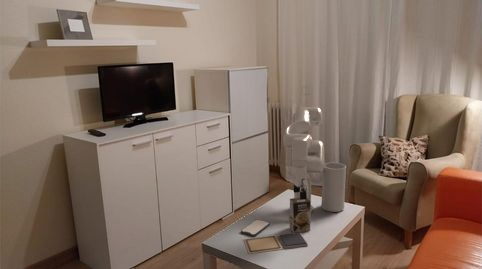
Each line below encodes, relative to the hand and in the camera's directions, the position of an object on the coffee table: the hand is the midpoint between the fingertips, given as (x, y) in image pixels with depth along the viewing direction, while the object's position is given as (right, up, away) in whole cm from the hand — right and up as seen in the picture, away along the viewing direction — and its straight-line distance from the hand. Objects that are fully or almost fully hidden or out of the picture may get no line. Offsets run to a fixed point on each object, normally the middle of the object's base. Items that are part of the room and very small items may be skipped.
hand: (299, 195), depth 185 cm
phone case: (-22, -19, +7) cm, 30 cm away
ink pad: (-5, -21, -7) cm, 23 cm away
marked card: (-19, -22, -8) cm, 30 cm away
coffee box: (+1, -18, +5) cm, 19 cm away
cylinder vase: (+23, -12, +27) cm, 37 cm away
